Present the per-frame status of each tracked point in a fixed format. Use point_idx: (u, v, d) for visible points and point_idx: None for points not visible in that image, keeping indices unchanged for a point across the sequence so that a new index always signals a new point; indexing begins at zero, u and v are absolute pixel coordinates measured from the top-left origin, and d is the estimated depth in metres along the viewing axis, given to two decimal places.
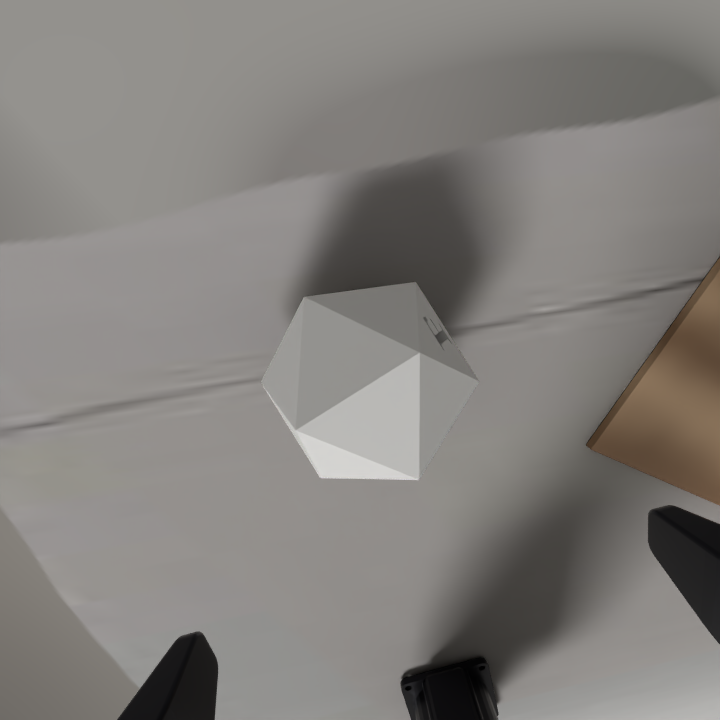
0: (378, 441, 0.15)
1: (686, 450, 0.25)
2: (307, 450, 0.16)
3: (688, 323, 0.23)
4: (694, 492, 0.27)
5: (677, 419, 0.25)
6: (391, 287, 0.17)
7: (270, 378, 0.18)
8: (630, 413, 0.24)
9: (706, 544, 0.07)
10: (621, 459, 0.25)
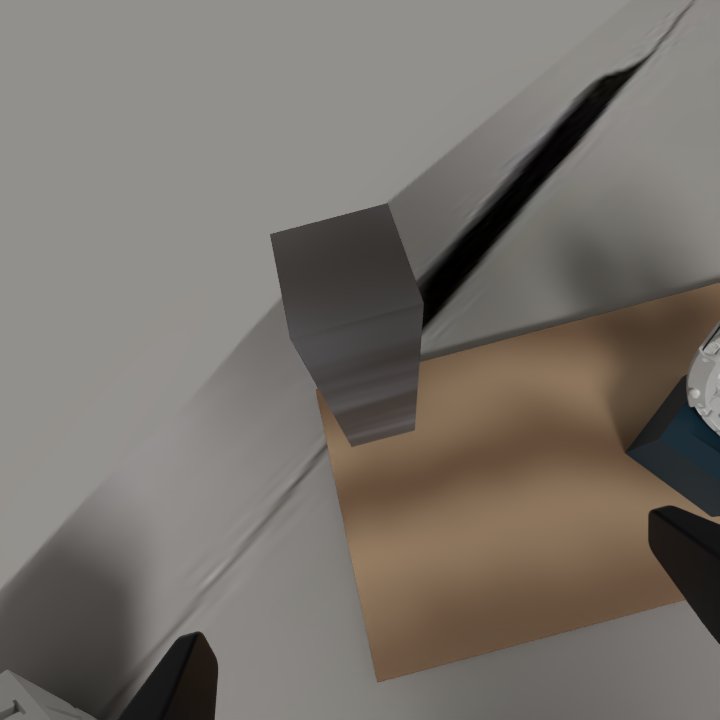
0: None
1: (486, 588, 0.19)
2: None
3: (342, 482, 0.22)
4: (563, 628, 0.18)
5: (434, 566, 0.20)
6: None
7: None
8: (377, 602, 0.19)
9: (706, 544, 0.07)
10: (425, 663, 0.18)
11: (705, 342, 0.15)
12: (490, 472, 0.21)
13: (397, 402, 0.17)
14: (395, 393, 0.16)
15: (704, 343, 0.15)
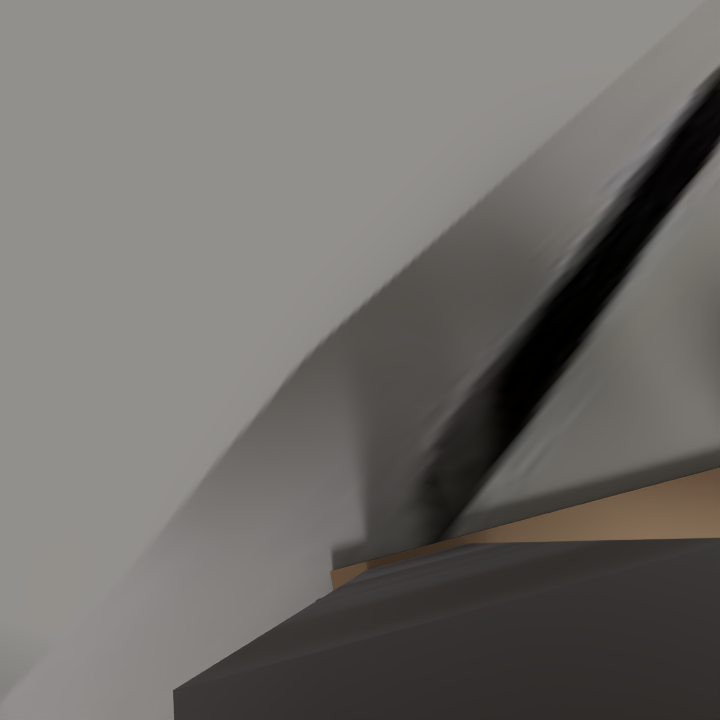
0: None
1: None
2: None
3: None
4: None
5: None
6: None
7: None
8: None
9: None
10: None
11: None
12: None
13: None
14: None
15: None
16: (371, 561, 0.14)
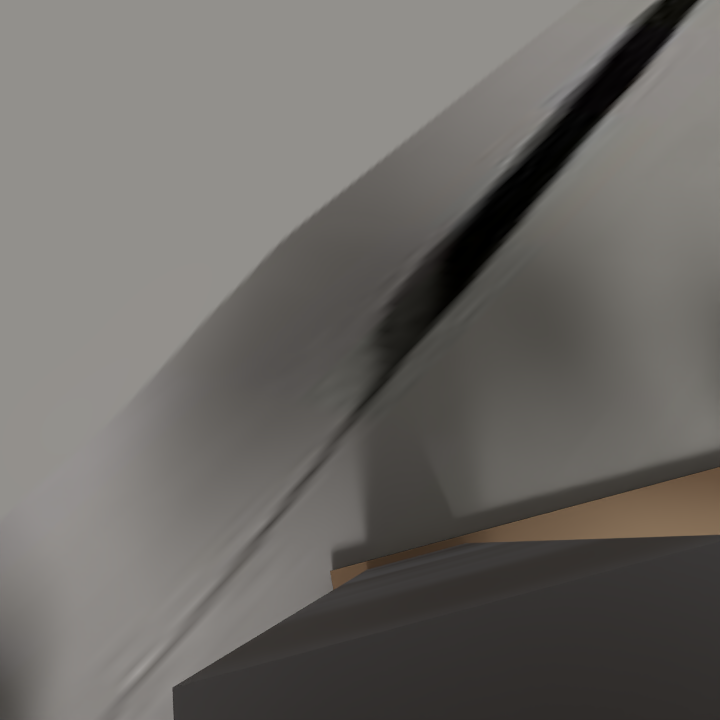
0: None
1: None
2: None
3: None
4: None
5: None
6: None
7: None
8: None
9: None
10: None
11: None
12: None
13: None
14: None
15: None
16: (371, 561, 0.14)
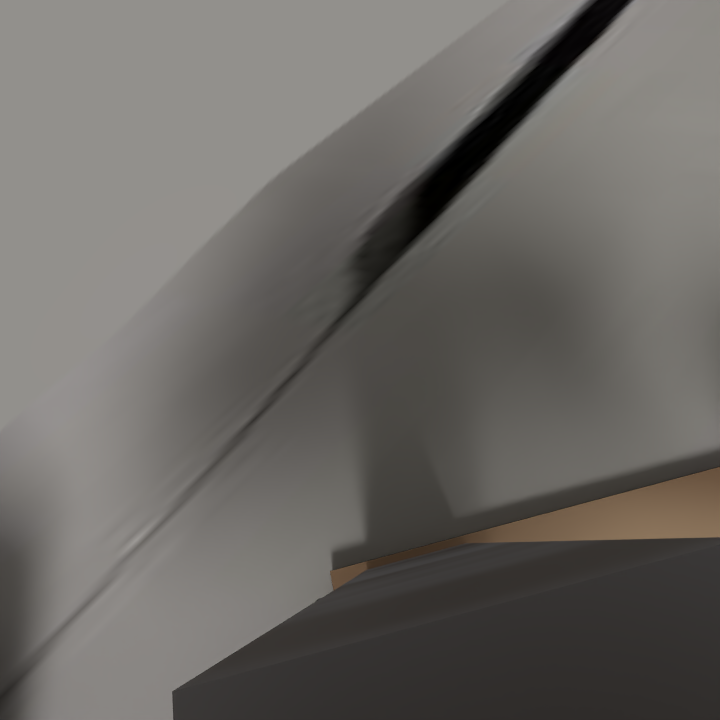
0: None
1: None
2: None
3: None
4: None
5: None
6: None
7: None
8: None
9: None
10: None
11: None
12: None
13: None
14: None
15: None
16: (371, 561, 0.14)
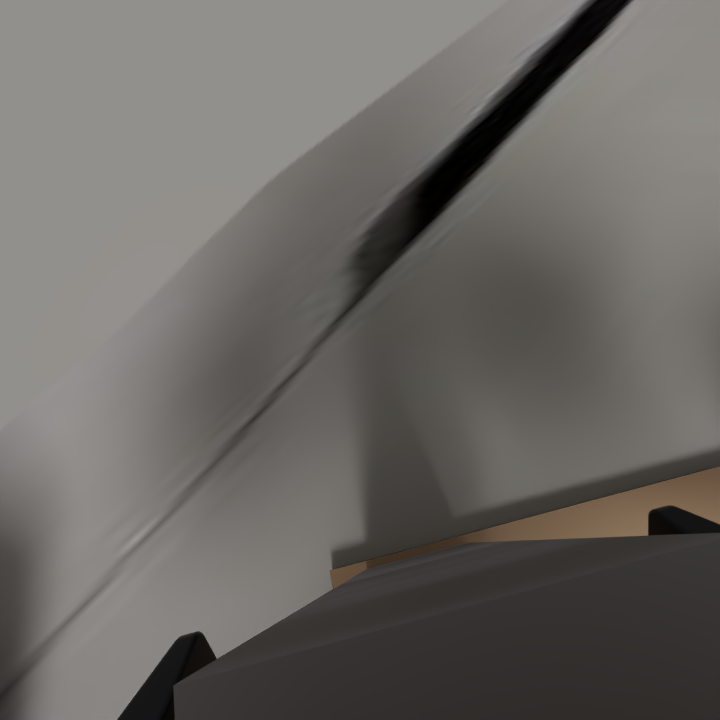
0: None
1: None
2: None
3: None
4: None
5: None
6: None
7: None
8: None
9: None
10: None
11: None
12: None
13: None
14: None
15: None
16: (371, 560, 0.14)
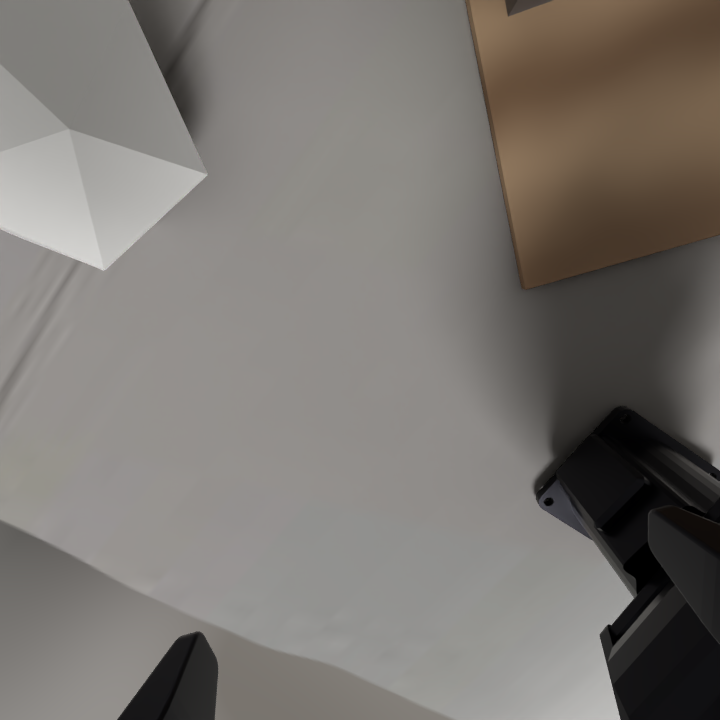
0: None
1: (655, 194, 0.17)
2: None
3: (494, 72, 0.16)
4: None
5: (601, 174, 0.17)
6: None
7: None
8: (531, 217, 0.18)
9: (706, 544, 0.07)
10: (576, 270, 0.18)
11: None
12: (697, 46, 0.16)
13: None
14: None
15: None
16: None
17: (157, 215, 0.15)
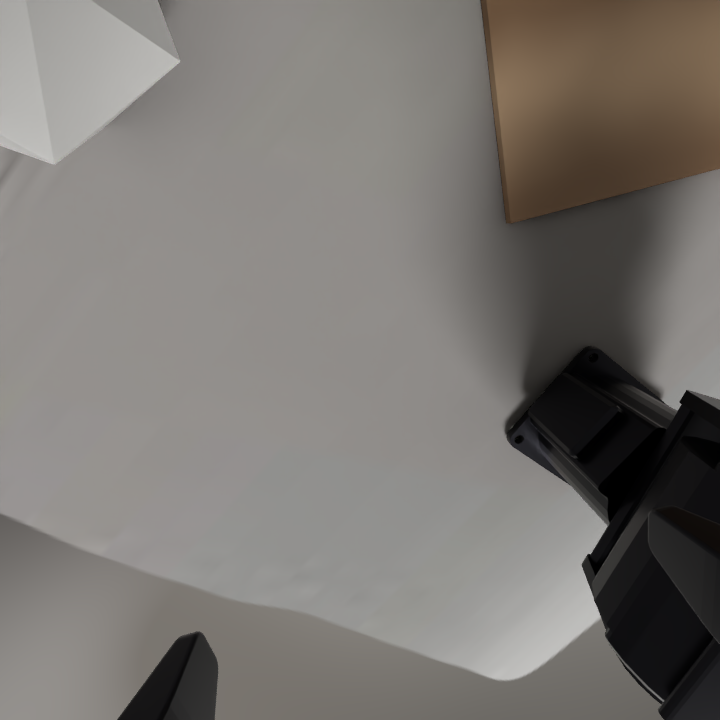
0: None
1: (638, 131, 0.18)
2: None
3: None
4: (697, 171, 0.18)
5: (590, 105, 0.17)
6: None
7: None
8: (521, 146, 0.17)
9: (706, 544, 0.07)
10: (559, 205, 0.18)
11: None
12: None
13: None
14: None
15: None
16: None
17: (120, 103, 0.13)
